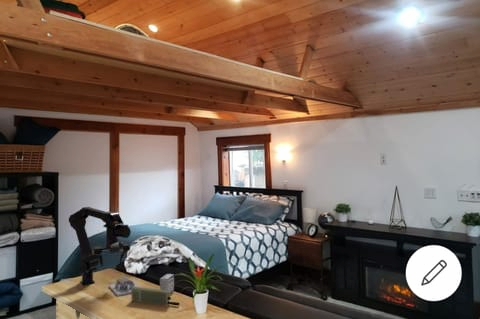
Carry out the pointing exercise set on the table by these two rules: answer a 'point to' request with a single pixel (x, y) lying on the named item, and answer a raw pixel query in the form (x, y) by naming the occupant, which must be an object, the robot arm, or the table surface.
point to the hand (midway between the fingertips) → (110, 264)
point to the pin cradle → (119, 291)
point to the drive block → (124, 283)
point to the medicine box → (167, 283)
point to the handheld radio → (151, 296)
